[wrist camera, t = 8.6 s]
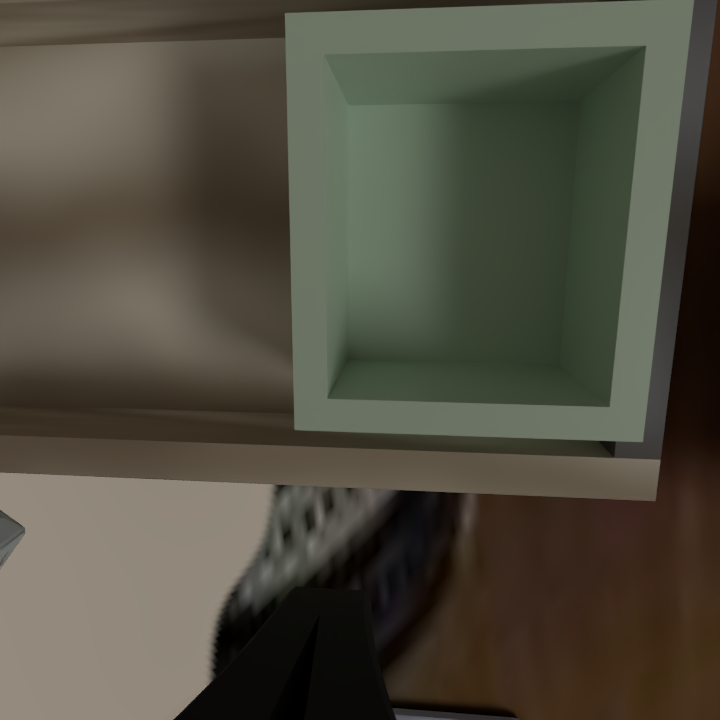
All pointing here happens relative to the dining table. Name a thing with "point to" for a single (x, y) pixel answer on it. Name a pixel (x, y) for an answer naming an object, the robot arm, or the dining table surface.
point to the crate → (481, 215)
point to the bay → (219, 263)
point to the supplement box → (9, 536)
